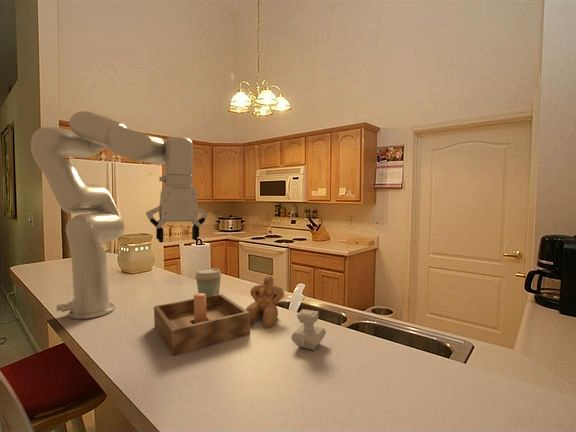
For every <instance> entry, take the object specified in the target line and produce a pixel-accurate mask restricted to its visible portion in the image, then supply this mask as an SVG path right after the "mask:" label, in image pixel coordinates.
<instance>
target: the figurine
mask: <svg viewBox="0 0 576 432" xmlns="http://www.w3.org/2000/svg"><path fill="white" fill-rule="evenodd" d="M250 296H251V297H252V299H253V300H254V302H252V303H250V304H248V306H246V309H245V310H247V311H248V312H250V325H253V324H254V323H256V321H257V320H258V319H259V318H260V317H261V318H262V322H263V326H264V328H266V329H270V328H271V327H273V326H274V324H275V322H276V320H277V318H278V316H279V310H278V307H277V305H276V304H278V303H279V302H280V301H281V300H282V299H283V298H284V296H285V292H284V289H283V288H282V287H281V286H278V285H276V284H274V278H273V276H272V275H271V274H268V275H265V276H264V278H263V283H262V284H257V285H254V286H252V287H251V288H250Z"/></svg>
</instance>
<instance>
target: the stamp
mask: <svg viewBox="0 0 576 432" xmlns="http://www.w3.org/2000/svg"><path fill="white" fill-rule="evenodd" d="M296 316H297V320H298V321H299V323H300V324H302V325H301V326H299V327H298V329H296V330H295V331H294V332H293V333H292V335H291V338H290V339H291V341H292V342H293V343H294V344H295V345H296V347H299V348H304V349H308V350H312V351H315V349H316V348H317V347H318V346H319V345H320V343H321V342H322V341H323V339H324V337H325V335H326V334H327V331H326V329H325V328H323V327H320V326H319V327H318V326H315V325H314V324H315V323H316V322H317V321H318V320H319V310H312V309H306V308H304V309H303V308H302V309H301V310H300V311H299V312H298V313H297V314H296Z"/></svg>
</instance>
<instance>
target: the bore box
mask: <svg viewBox="0 0 576 432" xmlns="http://www.w3.org/2000/svg"><path fill="white" fill-rule="evenodd" d="M153 314H154V315H153V318H154V328H155V330H156V331H157V333H158V334H159V335H158V336H160V337H161V339H162V341H163V342H164V344H165V345H166V347H167V349H168V350H169V352H170V353H171V355H172V356H173V357H174V356H177V355H181V354H185V353H188V352H192V351H195V350H200V349H202V348H207V347H211V346H213V345H218V344H220V343H224V342H228V341H232V340H236V339H238V338H239V339H240V338H241V337H246V336H248V335H251V324H250V312H248V311H247V310H246V309H245V308H244V307H242V306H241V305H239V303H236V302H235V301H233V300H232V299H230V298H228V297H227V296H226V295H223V294H222V293H219V294H216V295H211V296H206V318H207V321H205V322H200V323H196V324H195V321H194V298H190V299H185V300H181V301H175V302H174V301H173V302H169V303H163V304H159V305H158V304H157V305H154V306H153Z"/></svg>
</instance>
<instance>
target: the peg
mask: <svg viewBox="0 0 576 432" xmlns="http://www.w3.org/2000/svg"><path fill="white" fill-rule="evenodd" d="M193 299H194V321H195V324H196V323H200V322H205V321H207V318H206V294H204V293H196V294H193Z"/></svg>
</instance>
